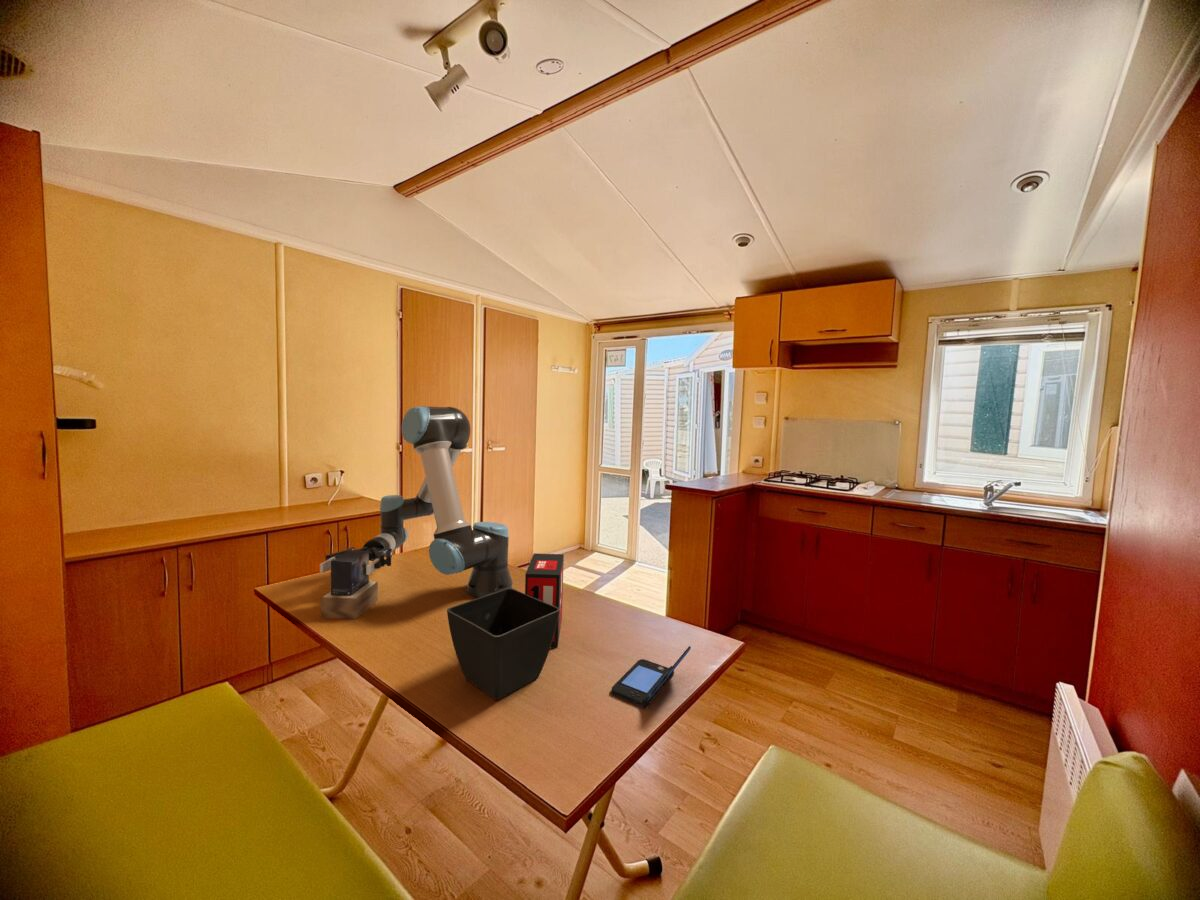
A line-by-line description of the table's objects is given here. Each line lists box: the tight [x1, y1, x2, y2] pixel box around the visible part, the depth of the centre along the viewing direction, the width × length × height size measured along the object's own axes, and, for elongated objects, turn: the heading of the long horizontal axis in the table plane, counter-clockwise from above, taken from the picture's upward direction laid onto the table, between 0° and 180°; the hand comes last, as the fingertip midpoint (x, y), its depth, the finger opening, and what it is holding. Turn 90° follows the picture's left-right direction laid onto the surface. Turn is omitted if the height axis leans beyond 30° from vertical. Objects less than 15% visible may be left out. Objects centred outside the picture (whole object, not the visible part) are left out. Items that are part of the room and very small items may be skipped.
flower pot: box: [446, 587, 560, 700], centre depth 106 cm, size 19×19×17 cm
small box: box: [330, 549, 370, 596], centre depth 137 cm, size 11×6×10 cm, turn 0°
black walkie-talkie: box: [611, 645, 692, 709], centre depth 105 cm, size 16×13×9 cm
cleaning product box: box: [524, 552, 565, 649], centre depth 128 cm, size 16×9×20 cm, turn 1°
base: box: [320, 580, 379, 620], centre depth 138 cm, size 10×13×6 cm
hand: (344, 569), depth 134 cm, fingers open, 13 cm apart
